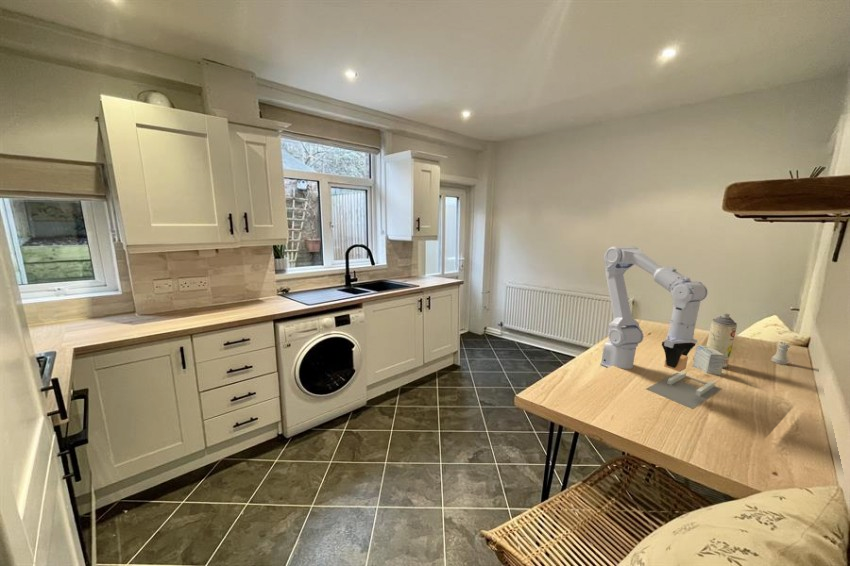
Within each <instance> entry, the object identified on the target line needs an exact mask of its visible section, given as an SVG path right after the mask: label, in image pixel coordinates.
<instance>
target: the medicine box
mask: <svg viewBox="0 0 850 566" xmlns="http://www.w3.org/2000/svg"><path fill="white" fill-rule="evenodd" d="M724 358H725V355H723V354H722V353H720V352H718V351H717V350H715V349H713V348H711V347H708V346H707V345H696V348H695V352H694V357H693V363H692V368H695V369H698V370H700V371H703V372H704V373H705V374H708V375H709V374H710V375H715V376H718V377H721V376H722V371H723V368H722V367H723V363H724Z"/></svg>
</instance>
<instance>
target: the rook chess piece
mask: <svg viewBox="0 0 850 566" xmlns="http://www.w3.org/2000/svg"><path fill="white" fill-rule="evenodd" d="M777 346H778V347H777V351H776V353H775V354H774V355H772V357H771V359H770V360H771V362H772V363H775V364H779V365H783V366H786V365H788V364H789V359H788V356H787V355H788V352H789V348H791V346H790V343H789V342H787V343H786V342H783V341H779V342H778V343H777Z"/></svg>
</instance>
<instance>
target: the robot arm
mask: <svg viewBox="0 0 850 566" xmlns="http://www.w3.org/2000/svg"><path fill="white" fill-rule="evenodd" d="M603 260H604V264H605V269H604V270H605V273H604V274H605V279H606V282H607V284H606V285H607V291H608V295H609V299H610V304H611V310H612V311H611V312H612V314H613V315H612V316H613V320H612V321H611V322H610V323H608V328H609V329H608V330H609V331H608V340H607V341H606V342H605V344H604V345H603V348H602V355H601V362H599V365H600V366H603V367H607V368H610V367H612V366H613V367H616V368H619V369H622V370H632V369H633V368H634V362H635V355H636V351H637V347H638V346H639V344H640V343H642V342H643V341H644V333H643V330H642V329H641V327H640V323H639V321H637V320H636V319H635V318H633V316H632V311H631V308H630V307H631V306H630V302H629V297H628V293H627V287H626V286H627V285H626V283H625V282H626V281H625V277H624V274H625V273H626V272H627V271H628V270H629V269H631V268H632V267H634V265H635V266H637V267H638V268H639V269H640V268H641V269H642V270H644V271H645V272H646V273H648V274H650V275H652V276H653V280H654V282H655V283H657V284H658V285H659V286H661V287H662V288H664V289H665V290H666V291H668V292H669V293H670V295H671V297H672V299H673V301H672V305H673V306H672V313H671V318H670V321H669V322H670V323H669V327H668V328H669V329H668V331H667V332H668V333H667V335H666V339H664V341H662V342H661V346H662V349H663V351H664V354H665V355H664V356H665V360H666V364H667V366H670V367H673V368H675V367H676V366H677V364H678V361H679V359H680V357H681V355H685V356H688V354H689V353H690V351H691V350H692V349H693V348H694V347H695V346H696V344H697V343H698V339H695V338H694V337H695V330H696V329H695V328H696V324H697V320H698V319H697V318H698V315H699V314H698V313H699V310H700V305H701V301H704V300H705V299H706V298H707V296H708V288H707V287H706V286H705V285H704V284H703V283H702V282H701V281H697V280H696V281H692V280H691V278H690V277H688V276H685V275H684V274H683V275H682V274H681V273H679V271H677V270H678V269H677V268H675V267H673V266H672V267H669V266H665V267H663V266H661V265H660V264H659V263H657V262H656V261H655V260H653V259H652V258H651V257H649V256H648V255H646V254H645V253H644V251H643V250H642V249H640V248H638V247H637V246H611V247H609V248H608V249H607V250H606V252H605V253H604V255H603Z"/></svg>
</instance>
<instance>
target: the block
mask: <svg viewBox="0 0 850 566" xmlns="http://www.w3.org/2000/svg"><path fill="white" fill-rule="evenodd" d="M688 360H689V356H688V355H687V356H685V355H681V357H680V359H679V361H678V364H677V366H676V367H675V368H673V367H670V366H667V364H666V359H665V361H664V367H665V368H668V369H671V370H674V371H676V372H678V373H681V372H682V371H683V372H684V370H686V369H687V364H688Z"/></svg>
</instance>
